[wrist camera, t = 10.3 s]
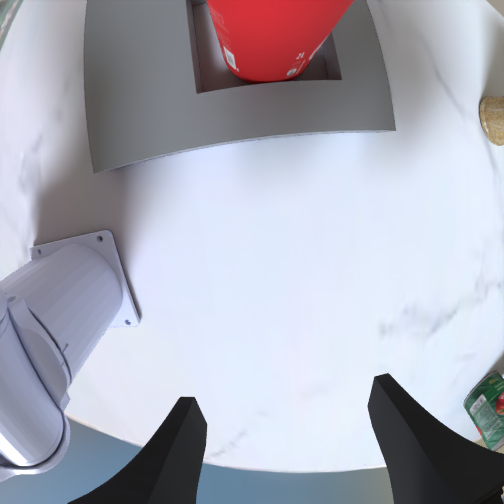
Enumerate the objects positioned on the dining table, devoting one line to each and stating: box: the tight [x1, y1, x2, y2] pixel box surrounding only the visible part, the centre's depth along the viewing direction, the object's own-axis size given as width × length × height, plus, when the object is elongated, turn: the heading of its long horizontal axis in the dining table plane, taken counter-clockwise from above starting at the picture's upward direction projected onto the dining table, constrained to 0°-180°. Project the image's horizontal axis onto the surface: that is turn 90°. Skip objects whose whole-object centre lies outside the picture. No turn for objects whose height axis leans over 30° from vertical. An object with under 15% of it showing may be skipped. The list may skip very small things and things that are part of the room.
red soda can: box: [206, 0, 354, 85], centre depth 8 cm, size 5×5×12 cm
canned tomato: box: [463, 371, 504, 451], centre depth 21 cm, size 8×8×11 cm
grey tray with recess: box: [84, 0, 396, 173], centre depth 12 cm, size 18×15×2 cm
